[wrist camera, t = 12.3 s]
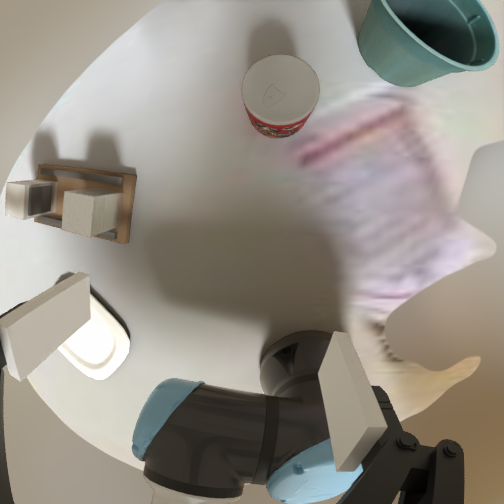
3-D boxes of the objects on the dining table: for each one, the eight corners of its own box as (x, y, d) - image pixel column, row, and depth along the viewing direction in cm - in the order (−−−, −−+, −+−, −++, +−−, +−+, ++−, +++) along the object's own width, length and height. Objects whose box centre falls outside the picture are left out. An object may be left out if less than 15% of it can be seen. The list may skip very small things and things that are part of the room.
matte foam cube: (124, 192, 38) (94, 196, 31) (119, 226, 40) (90, 237, 32) (93, 187, 38) (61, 190, 31) (90, 219, 40) (58, 228, 32)
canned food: (240, 127, 37) (228, 108, 26) (263, 76, 35) (260, 43, 24) (293, 148, 37) (302, 137, 26) (315, 97, 35) (331, 70, 24)
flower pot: (323, 57, 33) (349, -2, 18) (366, -6, 29) (397, -62, 14) (418, 122, 34) (484, 101, 19) (449, 53, 30) (505, 20, 15)
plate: (40, 322, 48) (36, 326, 46) (70, 264, 44) (65, 267, 42) (102, 383, 50) (98, 388, 48) (144, 337, 46) (140, 342, 44)
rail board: (128, 242, 41) (96, 258, 32) (38, 220, 42) (3, 230, 33) (136, 175, 39) (104, 176, 30) (42, 164, 39) (6, 165, 30)
